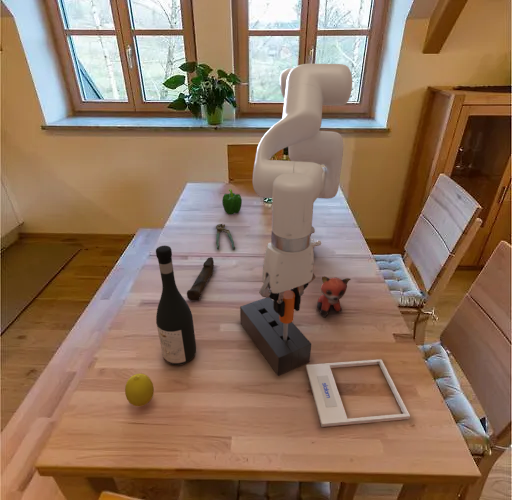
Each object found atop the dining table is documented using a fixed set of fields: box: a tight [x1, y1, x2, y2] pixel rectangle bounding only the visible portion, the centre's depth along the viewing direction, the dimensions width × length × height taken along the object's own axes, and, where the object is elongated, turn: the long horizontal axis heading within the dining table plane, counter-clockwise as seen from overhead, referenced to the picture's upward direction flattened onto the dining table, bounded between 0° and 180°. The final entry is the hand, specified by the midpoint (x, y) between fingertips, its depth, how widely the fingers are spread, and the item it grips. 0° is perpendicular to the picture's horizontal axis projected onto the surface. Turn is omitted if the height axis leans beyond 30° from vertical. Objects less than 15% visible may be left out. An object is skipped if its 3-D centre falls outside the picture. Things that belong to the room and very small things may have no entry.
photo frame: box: [305, 358, 411, 428], centre depth 76 cm, size 15×1×18 cm
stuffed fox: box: [316, 275, 351, 318], centre depth 98 cm, size 8×11×12 cm
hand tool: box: [186, 256, 215, 302], centre depth 109 cm, size 19×4×5 cm, turn 166°
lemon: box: [124, 373, 155, 407], centre depth 73 cm, size 6×6×8 cm
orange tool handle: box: [279, 290, 295, 342], centre depth 80 cm, size 3×3×16 cm
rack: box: [239, 297, 312, 377], centre depth 88 cm, size 9×19×6 cm, turn 28°
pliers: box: [215, 223, 236, 251], centre depth 135 cm, size 20×6×1 cm, turn 9°
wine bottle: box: [155, 245, 197, 366], centre depth 78 cm, size 8×8×30 cm
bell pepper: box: [221, 188, 243, 216], centre depth 152 cm, size 8×8×10 cm
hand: (286, 309), depth 78 cm, fingers closed on orange tool handle, 3 cm apart
